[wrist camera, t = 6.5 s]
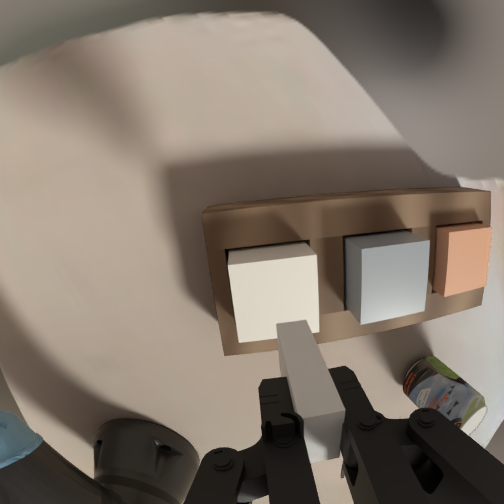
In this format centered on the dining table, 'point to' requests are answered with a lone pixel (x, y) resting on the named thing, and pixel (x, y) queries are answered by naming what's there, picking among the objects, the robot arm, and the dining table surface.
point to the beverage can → (445, 393)
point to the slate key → (385, 275)
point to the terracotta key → (461, 257)
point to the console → (337, 248)
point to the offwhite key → (273, 288)
